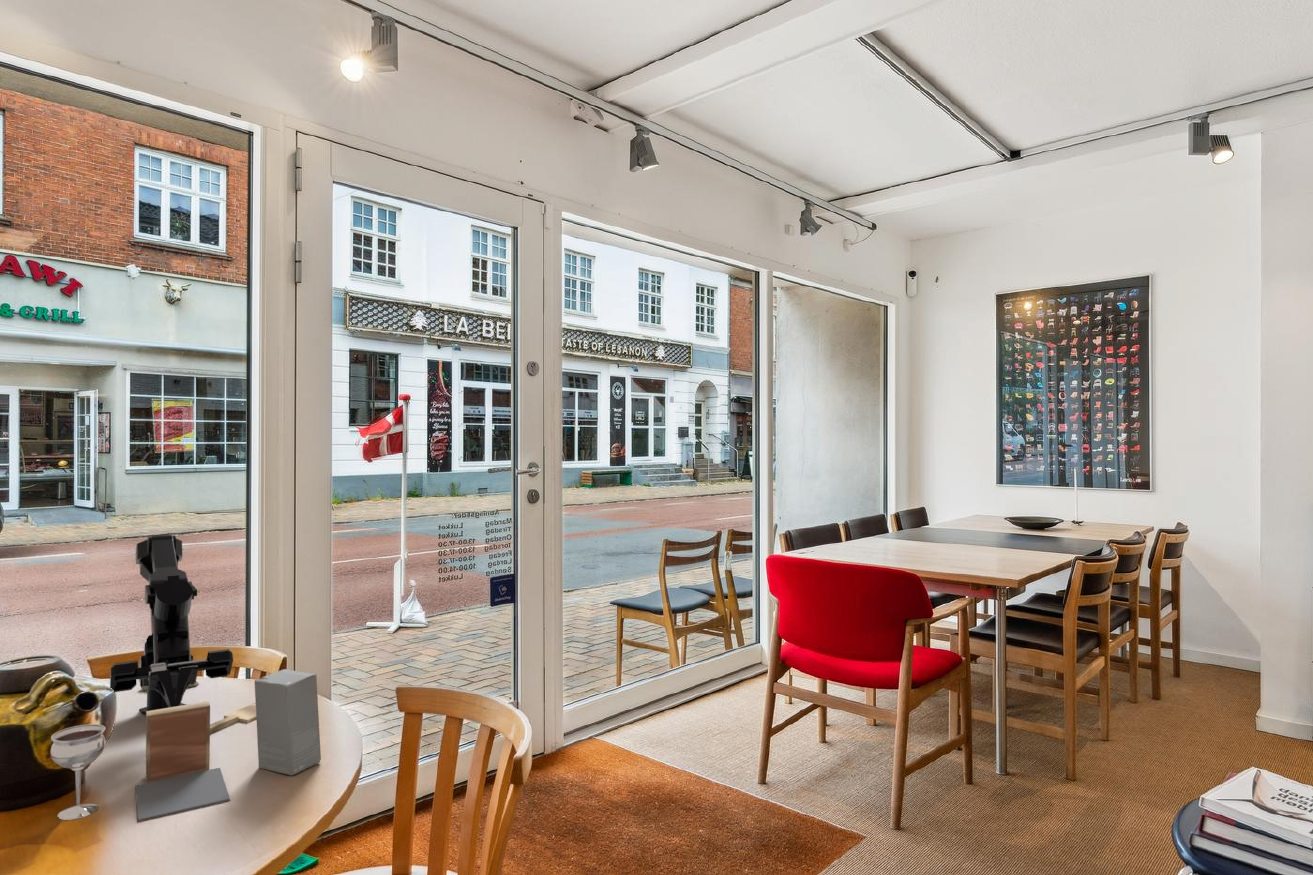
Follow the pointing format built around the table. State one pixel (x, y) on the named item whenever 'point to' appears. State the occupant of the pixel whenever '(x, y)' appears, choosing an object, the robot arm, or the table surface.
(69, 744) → the wineglass
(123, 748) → the table surface
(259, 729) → the skincare box
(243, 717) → the wooden spatula
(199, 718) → the oak tile
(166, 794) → the felt mat
